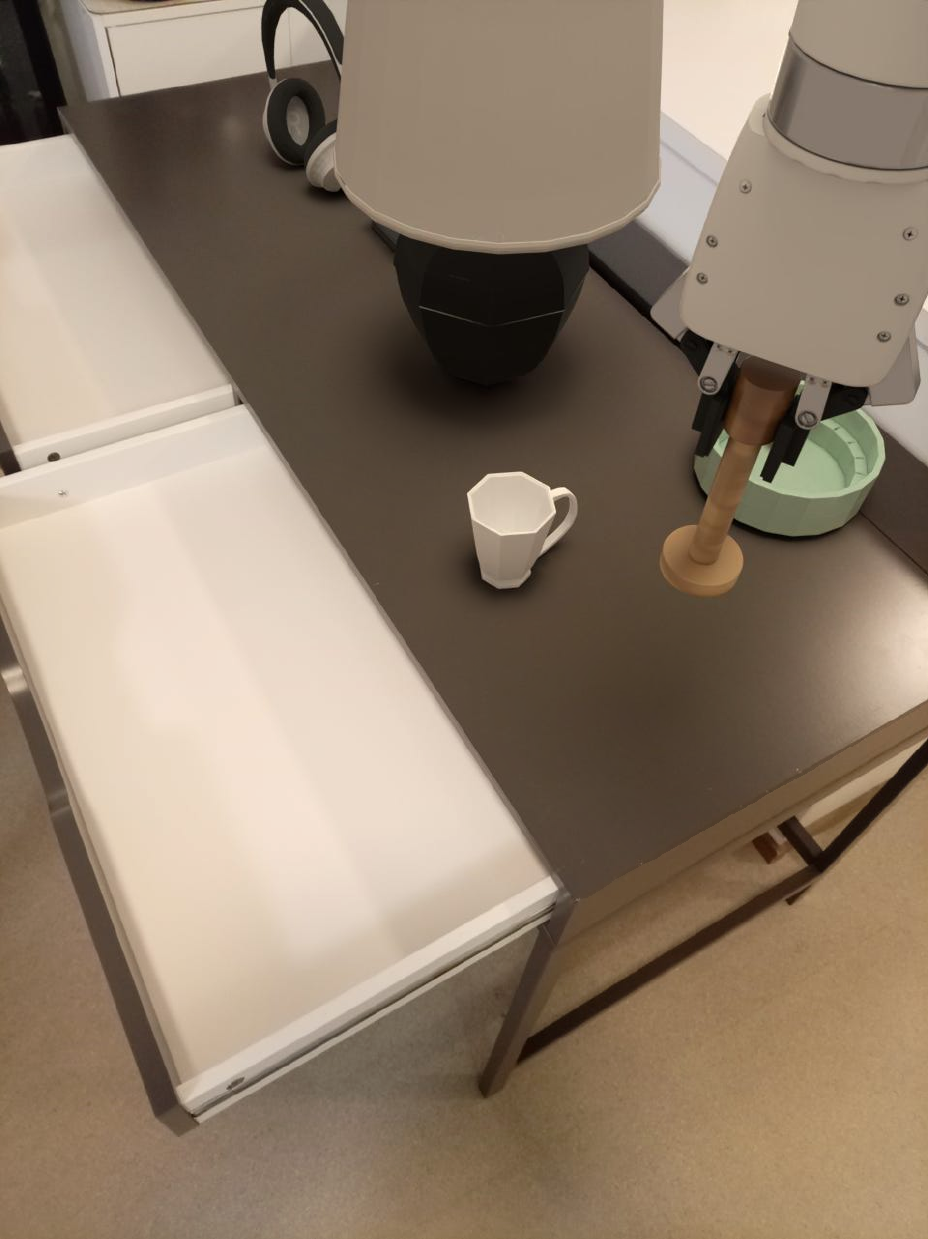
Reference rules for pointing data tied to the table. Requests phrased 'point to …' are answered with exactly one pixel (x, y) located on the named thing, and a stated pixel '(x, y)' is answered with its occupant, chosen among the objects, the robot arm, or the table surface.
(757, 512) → the bowl
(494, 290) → the table lamp
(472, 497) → the cup
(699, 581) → the brown long flanged bar
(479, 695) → the table surface
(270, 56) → the headphones
